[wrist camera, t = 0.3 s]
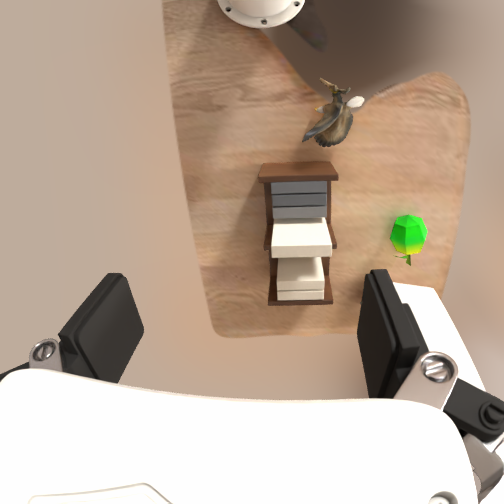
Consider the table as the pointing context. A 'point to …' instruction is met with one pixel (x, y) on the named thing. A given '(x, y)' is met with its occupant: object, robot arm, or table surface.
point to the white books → (300, 278)
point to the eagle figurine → (334, 118)
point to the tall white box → (438, 328)
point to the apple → (408, 235)
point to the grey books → (299, 199)
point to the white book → (300, 238)
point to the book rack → (266, 176)
